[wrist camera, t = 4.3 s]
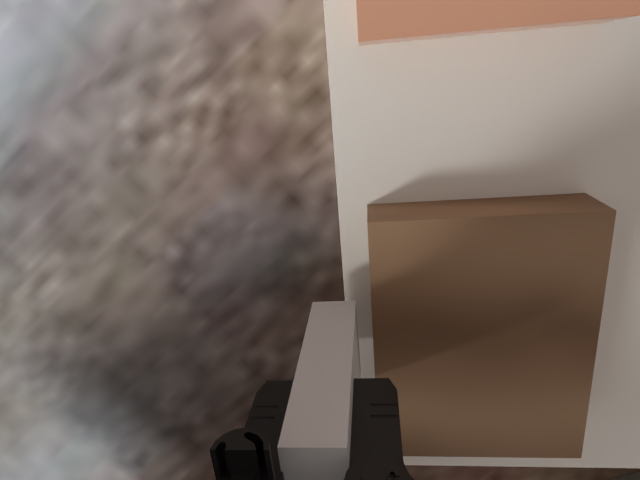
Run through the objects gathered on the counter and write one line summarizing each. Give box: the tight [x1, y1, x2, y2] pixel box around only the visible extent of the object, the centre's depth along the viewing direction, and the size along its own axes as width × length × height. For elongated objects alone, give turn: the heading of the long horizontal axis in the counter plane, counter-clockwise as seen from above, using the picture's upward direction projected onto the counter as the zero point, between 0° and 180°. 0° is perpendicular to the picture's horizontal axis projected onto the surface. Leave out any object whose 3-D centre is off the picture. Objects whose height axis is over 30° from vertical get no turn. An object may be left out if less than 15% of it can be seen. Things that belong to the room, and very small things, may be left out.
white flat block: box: [323, 0, 640, 468], centre depth 16 cm, size 28×15×4 cm, turn 5°
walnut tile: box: [367, 193, 616, 458], centre depth 16 cm, size 9×7×2 cm
